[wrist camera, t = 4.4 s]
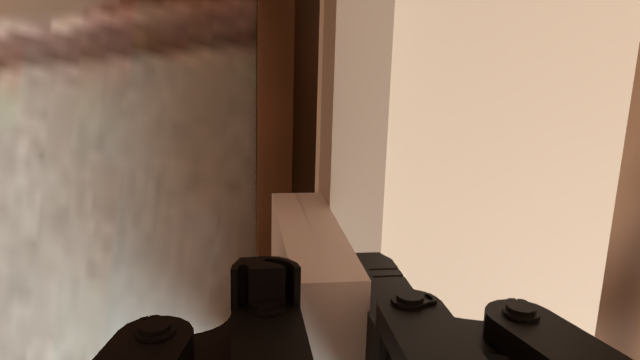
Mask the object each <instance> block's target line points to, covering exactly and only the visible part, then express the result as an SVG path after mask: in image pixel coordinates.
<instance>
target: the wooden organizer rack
mask: <svg viewBox="0 0 640 360" xmlns="http://www.w3.org/2000/svg"><path fill="white" fill-rule="evenodd" d="M319 18H320V0H257V26H256V257H257V256H271V232H272V193H315V164H316V127H317V91H318V54H319ZM595 337H596V338H598V339H599V340H601V341H603V342H604V343H606V344H608V345H610V346H611V347H613V348H615V349H616V350H618V351H620V352H621V353H623V354H625V355H627V356H628V357H630V358H632V359H633V360H640V43H639V49H638V56H637V63H636V69H635V76H634V82H633V89H632V95H631V102H630V108H629V115H628V121H627V128H626V134H625V141H624V147H623V154H622V160H621V167H620V174H619V180H618V187H617V193H616V200H615V206H614V213H613V219H612V226H611V232H610V239H609V245H608V252H607V258H606V265H605V271H604V278H603V285H602V291H601V298H600V304H599V311H598V317H597V324H596V330H595Z"/></svg>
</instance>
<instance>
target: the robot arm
mask: <svg viewBox="0 0 640 360" xmlns="http://www.w3.org/2000/svg"><path fill="white" fill-rule="evenodd" d="M92 360H633V359H632V358H630V357H628V356H627V355H625V354H623V353H621V352H620V351H618V350H616V349H615V348H613V347H611V346H610V345H608V344H606V343H604V342H603V341H601V340H599V339H598V338H596V337H594V336H593V335H591V334H589V333H587V332H586V331H584V330H582V329H581V328H579V327H577V326H576V325H574V324H572V323H570V322H569V321H567V320H565V319H564V318H562V317H560V316H559V315H557V314H555V313H553V312H552V311H550V310H548V309H546V308H544V307H542V306H540V305H538V304H535V303H531V302H527V300H524V299H518V298H517V300H516V298H508V299H501V300H496V301H492V302H489V303H488V304H487V305H486V307H485V311H484V321H480V320H472V319H463V318H457V317H454V316H453V315H452V313H451V312H450V311H449V310H448V308H447V307H446V306H445V305H444V303H443V302H442V301H441V300H440V299H438V298H437V297H436V296H434V295H432V294H431V293H427V292H424V291H420V290H415V289H413V288H412V286H411V285H410V284H409V282H408V281H407V279H406V278H405V277H403V274H402V272H401V271H400V270H398V267H397V265H396V264H395V263H394V261H393V260H392V259H391V258H389V257H387V256H385V255H383V254H381V253H380V252H365V253H355V251H354V250H353V248H352V246H351V244H350V243H349V241H348V239H347V237H346V236H345V234H344V232H343V230H342V229H341V227H340V225H339V223H338V222H337V220H336V218H335V216H334V215H333V213H332V211H331V209H330V208H329V206H328V204H327V202H326V201H325V199H324V197H323V196H322V194H321V193H272V232H271V256H257V257H243V258H239V259H238V260H237V261H236V262H235V263H234V264H233V265H232V268H231V316H230V318H229V319H228V320H227V321H226V322H225V323H223V324H222V325H221V326H219V327H216V328H214V329H212V330H209V331H205V332H202V333H197V334H194V330H193V327H192V326H191V324H190V323H189V322H188V321H186V320H184V319H182V318H178V317H172V316H160V315H152V316H150V317H148V316H146V317H142V318H140V319H138V320H135V321H133V322H131V323H128V324H126V325H125V326H124V327H122V328H121V329H120V330H118V331H117V332H116V334H115V335H114V336H113V337H112V338H111V339H110V340H109V341H108V343H107V344H106V345H105V346H104V347H103V348H102V349H101V350H100V352H99V353H98V354H97V355H96V356H95V357H94V358H93V359H92Z"/></svg>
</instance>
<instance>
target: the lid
mask: <svg viewBox="0 0 640 360" xmlns="http://www.w3.org/2000/svg"><path fill="white" fill-rule="evenodd" d="M639 43H640V0H320V18H319V54H318V91H317V127H316V164H315V193H321V194H322V196H323V197H324V199H325V201H326V202H327V204H328V206H329V208H330V209H331V211H332V213H333V215H334V216H335V218H336V220H337V222H338V223H339V225H340V227H341V229H342V230H343V232H344V234H345V236H346V237H347V239H348V241H349V243H350V244H351V246H352V248H353V250H354V251H355V253H365V252H380V253H381V254H383V255H385V256H387V257H389V258H391V259H392V260H393V261H394V263H395V264H396V265H397V267H398V270H400V271H401V272H402V274H403V277H405V278H406V279H407V281H408V282H409V284H410V285H411V286H412V288H413V289H415V290H420V291H424V292H427V293H431V294H432V295H434V296H436V297H437V298H438V299H440V300H441V301H442V302H443V303H444V305H445V306H446V307H447V308H448V310H449V311H450V312H451V313H452V315H453V316H454V317H457V318H463V319H472V320H480V321H484V311H485V307H486V305H487V304H488V303H489V302H492V301H496V300H501V299H508V298H516V300H517V298H518V299H524V300H527V302H531V303H535V304H538V305H540V306H542V307H544V308H546V309H548V310H550V311H552V312H553V313H555V314H557V315H559V316H560V317H562V318H564V319H565V320H567V321H569V322H570V323H572V324H574V325H576V326H577V327H579V328H581V329H582V330H584V331H586V332H587V333H589V334H591V335H593V336H594V337H595V330H596V324H597V317H598V311H599V304H600V298H601V291H602V285H603V278H604V271H605V265H606V258H607V252H608V245H609V239H610V232H611V226H612V219H613V213H614V206H615V200H616V193H617V187H618V180H619V174H620V167H621V160H622V154H623V147H624V141H625V134H626V128H627V121H628V115H629V108H630V102H631V95H632V89H633V82H634V76H635V69H636V63H637V56H638V49H639Z"/></svg>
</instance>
